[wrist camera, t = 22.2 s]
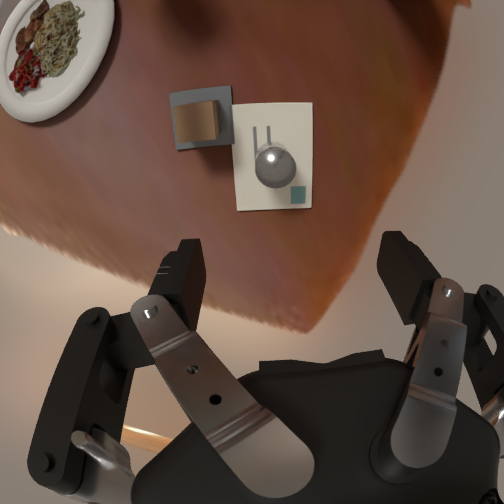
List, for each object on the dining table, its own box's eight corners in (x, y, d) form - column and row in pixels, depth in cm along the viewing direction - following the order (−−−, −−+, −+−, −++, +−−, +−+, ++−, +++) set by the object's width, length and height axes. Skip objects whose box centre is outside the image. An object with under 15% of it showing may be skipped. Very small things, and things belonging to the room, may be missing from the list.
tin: (290, 140, 39) (296, 148, 34) (291, 174, 42) (296, 187, 37) (253, 141, 39) (253, 150, 34) (255, 175, 42) (256, 189, 37)
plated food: (149, -27, 23) (142, -33, 20) (84, 136, 38) (74, 140, 35) (30, -23, 16) (20, -25, 14) (-12, 108, 31) (-23, 112, 28)
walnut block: (217, 99, 36) (212, 101, 31) (220, 132, 38) (215, 139, 33) (183, 103, 36) (173, 106, 31) (187, 135, 39) (177, 143, 34)
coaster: (230, 85, 35) (230, 85, 35) (235, 143, 40) (235, 144, 40) (169, 93, 35) (169, 93, 35) (176, 149, 40) (176, 149, 40)
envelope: (311, 102, 36) (312, 102, 36) (310, 206, 45) (311, 207, 45) (228, 105, 37) (228, 105, 36) (237, 209, 46) (237, 210, 46)
